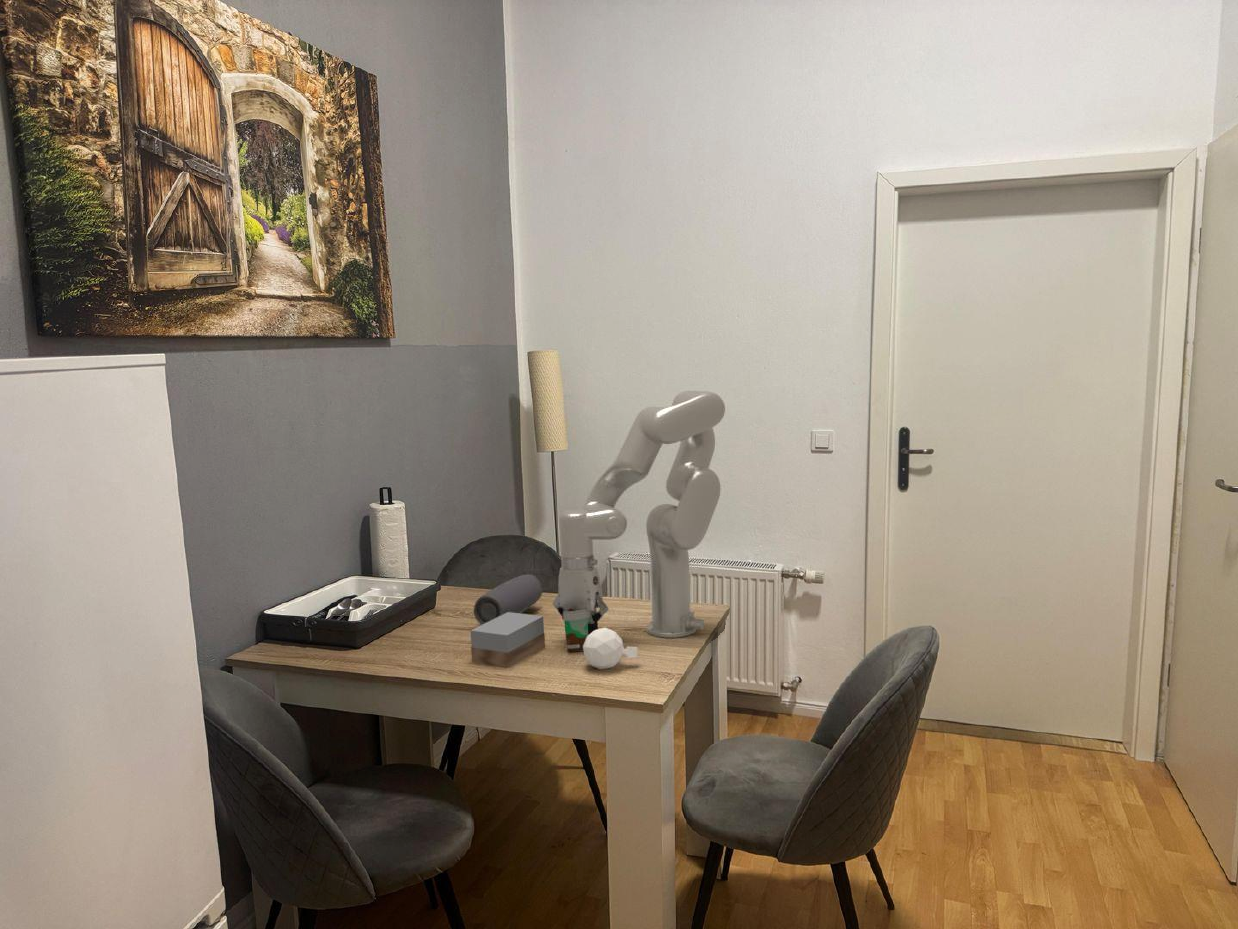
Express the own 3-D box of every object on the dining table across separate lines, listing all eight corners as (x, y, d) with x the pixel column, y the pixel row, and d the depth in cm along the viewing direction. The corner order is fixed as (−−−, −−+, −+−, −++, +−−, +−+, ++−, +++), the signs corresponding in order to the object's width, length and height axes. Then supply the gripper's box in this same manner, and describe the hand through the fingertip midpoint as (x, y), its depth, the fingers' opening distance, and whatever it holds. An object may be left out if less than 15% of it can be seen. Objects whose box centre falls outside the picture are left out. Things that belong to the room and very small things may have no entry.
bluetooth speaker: (514, 606, 239) (513, 571, 238) (544, 608, 236) (543, 573, 235) (472, 630, 218) (470, 592, 217) (504, 634, 215) (502, 595, 214)
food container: (590, 655, 197) (588, 612, 196) (565, 654, 199) (562, 612, 197) (604, 636, 209) (602, 597, 208) (580, 636, 211) (577, 596, 209)
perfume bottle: (580, 668, 184) (636, 673, 184) (584, 625, 185) (640, 630, 186) (580, 667, 192) (634, 671, 193) (584, 625, 194) (637, 630, 194)
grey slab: (543, 632, 204) (543, 616, 203) (508, 652, 190) (507, 635, 190) (508, 628, 208) (508, 612, 208) (471, 647, 195) (470, 630, 195)
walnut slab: (545, 649, 204) (544, 633, 203) (507, 670, 191) (506, 652, 190) (510, 643, 209) (510, 628, 208) (472, 663, 196) (471, 647, 195)
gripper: (617, 562, 200) (620, 636, 202) (556, 556, 209) (561, 627, 211) (600, 569, 194) (603, 646, 196) (538, 563, 203) (543, 636, 205)
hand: (581, 636), depth 204 cm, fingers closed on food container, 5 cm apart
